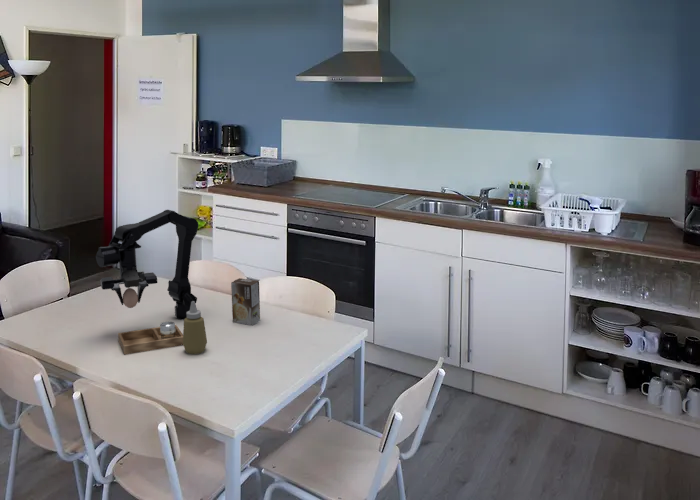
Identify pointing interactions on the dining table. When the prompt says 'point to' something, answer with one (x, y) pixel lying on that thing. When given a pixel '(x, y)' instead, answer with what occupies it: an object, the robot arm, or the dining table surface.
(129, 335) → the crate
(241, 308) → the coffee box
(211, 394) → the dining table surface
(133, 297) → the egg
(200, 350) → the squeeze bottle
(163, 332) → the tin
